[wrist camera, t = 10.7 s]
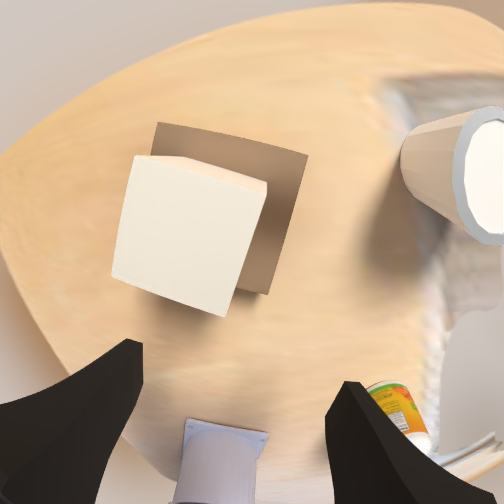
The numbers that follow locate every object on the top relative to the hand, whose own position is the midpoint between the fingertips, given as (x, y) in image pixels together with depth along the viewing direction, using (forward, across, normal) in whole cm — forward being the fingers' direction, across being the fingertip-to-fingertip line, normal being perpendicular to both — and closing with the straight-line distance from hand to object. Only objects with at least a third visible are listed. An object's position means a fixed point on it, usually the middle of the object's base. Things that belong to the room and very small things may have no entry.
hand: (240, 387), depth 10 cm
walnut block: (+11, +3, -4) cm, 12 cm away
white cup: (+10, -10, -10) cm, 18 cm away
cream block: (+8, +3, -4) cm, 9 cm away
